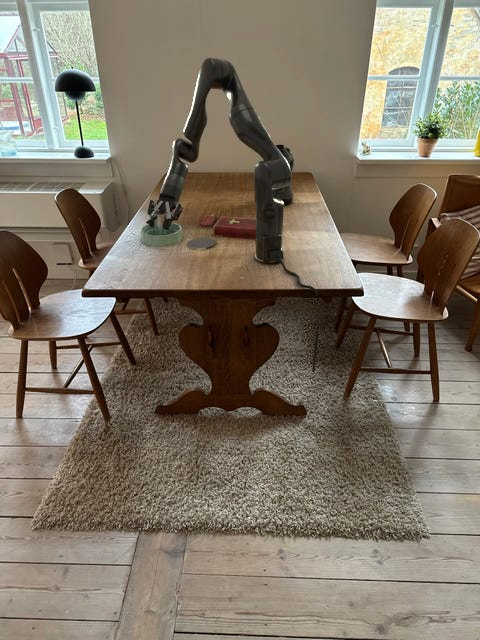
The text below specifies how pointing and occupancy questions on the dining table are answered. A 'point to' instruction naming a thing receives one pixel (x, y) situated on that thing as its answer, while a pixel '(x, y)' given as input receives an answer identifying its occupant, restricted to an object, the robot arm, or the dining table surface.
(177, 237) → the bowl
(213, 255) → the dining table surface
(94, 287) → the dining table surface
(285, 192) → the beer stein
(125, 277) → the dining table surface
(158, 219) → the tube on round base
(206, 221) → the popsicle
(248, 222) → the hardcover book
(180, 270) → the dining table surface
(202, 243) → the coaster
